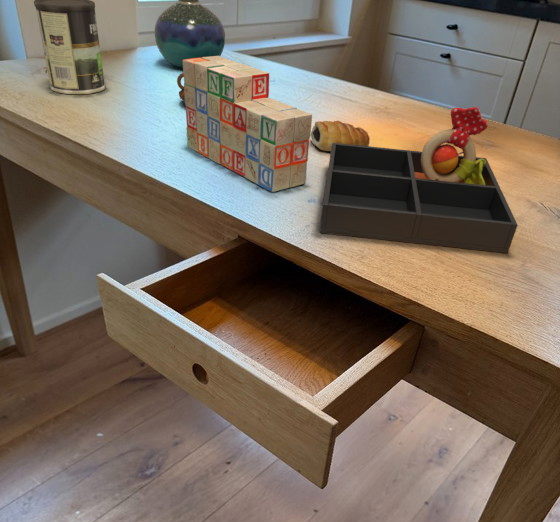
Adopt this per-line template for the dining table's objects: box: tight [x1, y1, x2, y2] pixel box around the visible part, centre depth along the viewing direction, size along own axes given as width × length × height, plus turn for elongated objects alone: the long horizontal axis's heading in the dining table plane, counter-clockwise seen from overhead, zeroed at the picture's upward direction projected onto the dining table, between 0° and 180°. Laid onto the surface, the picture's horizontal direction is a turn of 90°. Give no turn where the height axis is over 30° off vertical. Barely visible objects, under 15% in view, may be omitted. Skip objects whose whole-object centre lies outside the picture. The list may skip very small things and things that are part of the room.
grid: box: [319, 143, 518, 254], centre depth 74 cm, size 22×22×4 cm
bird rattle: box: [421, 106, 489, 185], centre depth 75 cm, size 6×11×9 cm
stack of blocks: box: [182, 55, 313, 193], centre depth 79 cm, size 21×6×12 cm, turn 39°
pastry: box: [310, 120, 371, 152], centre depth 90 cm, size 9×7×4 cm
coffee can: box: [33, 0, 106, 95], centre depth 104 cm, size 10×10×14 cm
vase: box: [154, 0, 226, 69], centre depth 124 cm, size 15×15×13 cm
